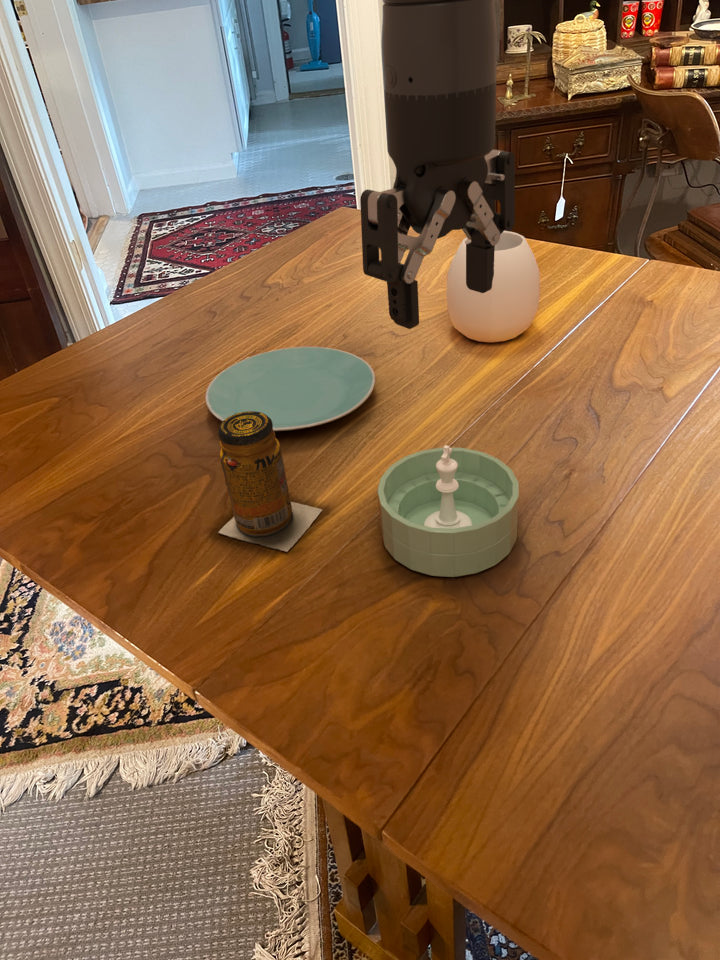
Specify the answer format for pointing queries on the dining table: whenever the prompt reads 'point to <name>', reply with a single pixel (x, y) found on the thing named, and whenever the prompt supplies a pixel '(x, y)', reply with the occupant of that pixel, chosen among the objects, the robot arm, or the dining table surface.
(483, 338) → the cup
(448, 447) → the chess piece
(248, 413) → the condiment
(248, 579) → the dining table surface
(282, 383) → the plate
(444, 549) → the bowl
